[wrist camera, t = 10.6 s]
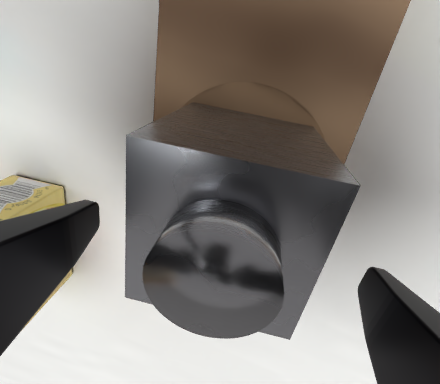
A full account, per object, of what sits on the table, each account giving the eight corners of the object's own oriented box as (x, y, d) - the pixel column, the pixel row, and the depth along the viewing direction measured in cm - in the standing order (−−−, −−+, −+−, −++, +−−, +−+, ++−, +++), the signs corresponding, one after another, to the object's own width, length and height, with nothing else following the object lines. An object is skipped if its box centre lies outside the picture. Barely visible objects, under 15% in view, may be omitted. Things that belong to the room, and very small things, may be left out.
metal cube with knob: (180, 205, 16) (102, 335, 8) (193, 102, 13) (92, 152, 5) (279, 228, 15) (294, 386, 8) (313, 126, 13) (385, 217, 5)
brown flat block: (299, 243, 18) (311, 302, 13) (159, 211, 19) (125, 257, 14) (516, -325, 8) (828, -811, 4) (199, -352, 9) (130, -789, 4)
